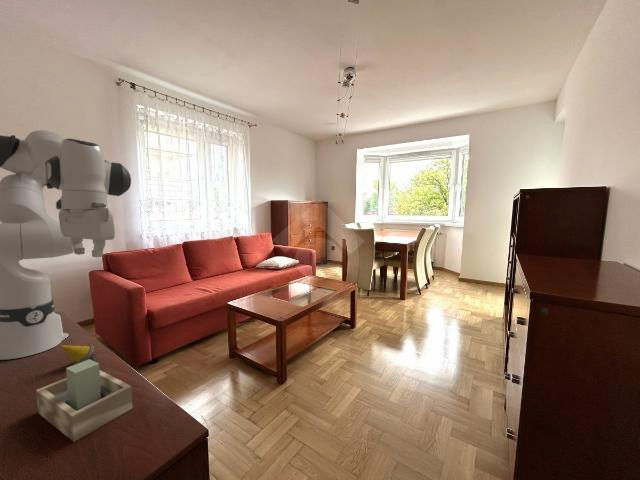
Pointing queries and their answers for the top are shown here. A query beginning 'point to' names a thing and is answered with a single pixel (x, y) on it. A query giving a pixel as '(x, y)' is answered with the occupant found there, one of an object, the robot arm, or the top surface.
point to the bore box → (90, 417)
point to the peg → (83, 384)
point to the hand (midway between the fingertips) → (88, 255)
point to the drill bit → (79, 352)
